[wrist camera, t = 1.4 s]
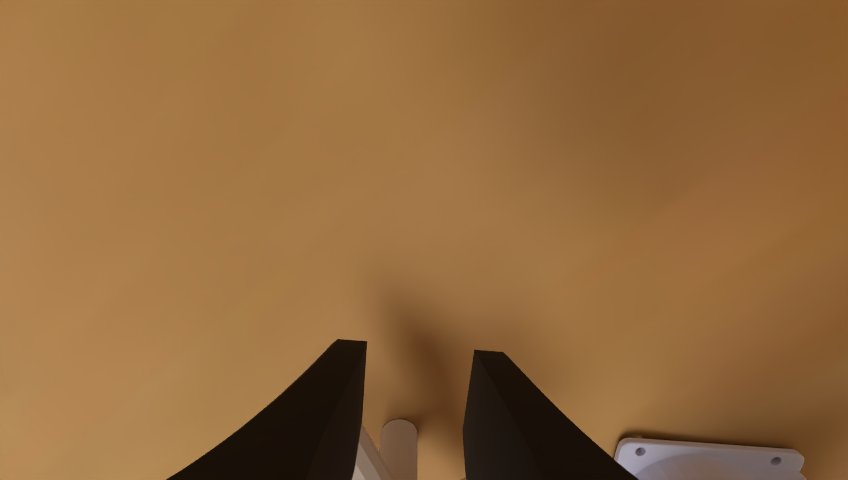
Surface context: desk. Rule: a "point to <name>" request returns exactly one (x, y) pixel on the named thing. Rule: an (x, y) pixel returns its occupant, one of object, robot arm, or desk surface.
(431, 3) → the desk surface
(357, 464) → the pipe connector
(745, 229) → the desk surface
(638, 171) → the desk surface
